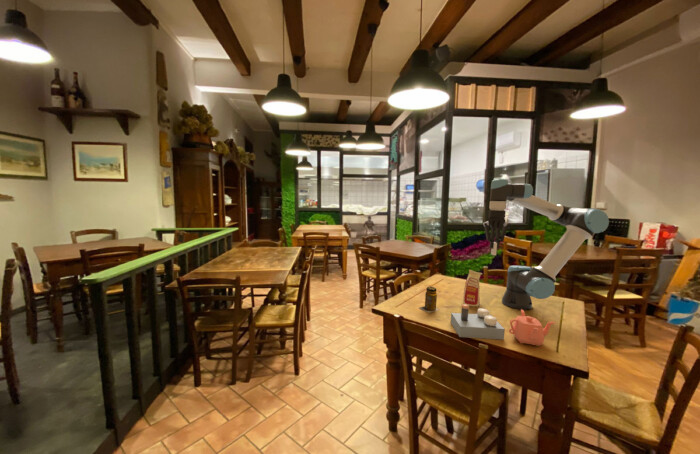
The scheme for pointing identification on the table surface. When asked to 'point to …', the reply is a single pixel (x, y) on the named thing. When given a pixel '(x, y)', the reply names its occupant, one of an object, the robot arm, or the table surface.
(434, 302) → the condiment
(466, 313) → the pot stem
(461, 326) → the mount
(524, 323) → the teapot
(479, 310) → the knob
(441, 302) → the table surface
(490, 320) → the knob
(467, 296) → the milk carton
